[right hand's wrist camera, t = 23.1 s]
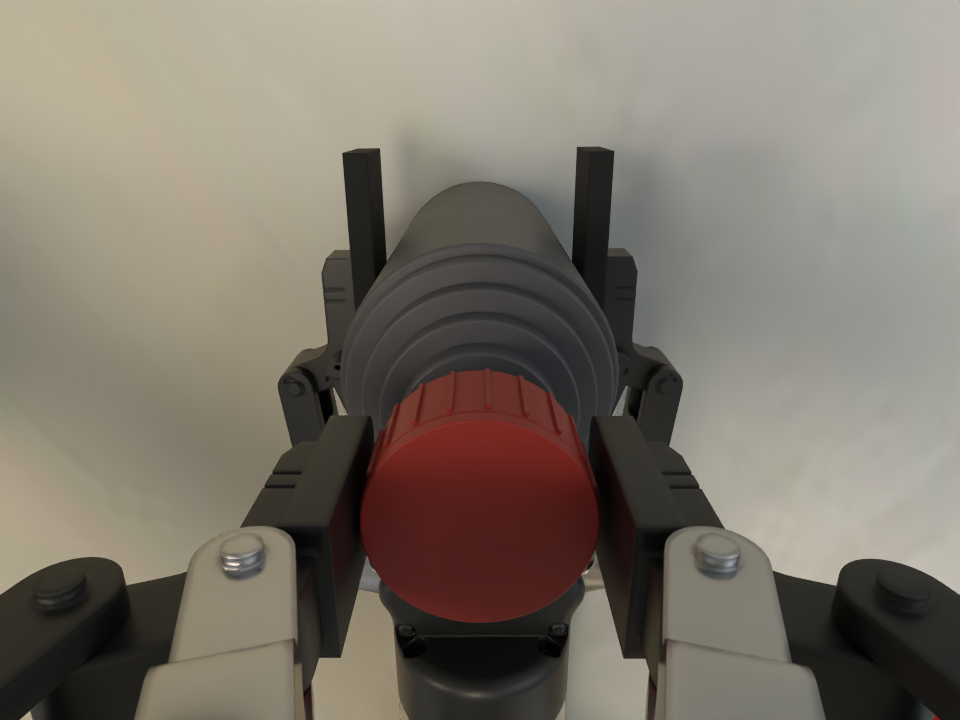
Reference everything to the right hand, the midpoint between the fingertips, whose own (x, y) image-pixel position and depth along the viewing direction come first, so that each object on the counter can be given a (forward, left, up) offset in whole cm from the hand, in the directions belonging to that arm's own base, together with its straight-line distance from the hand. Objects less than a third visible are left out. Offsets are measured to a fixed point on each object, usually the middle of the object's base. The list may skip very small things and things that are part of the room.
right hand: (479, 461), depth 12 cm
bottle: (0, 0, -18) cm, 18 cm away
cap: (0, 0, +2) cm, 2 cm away
